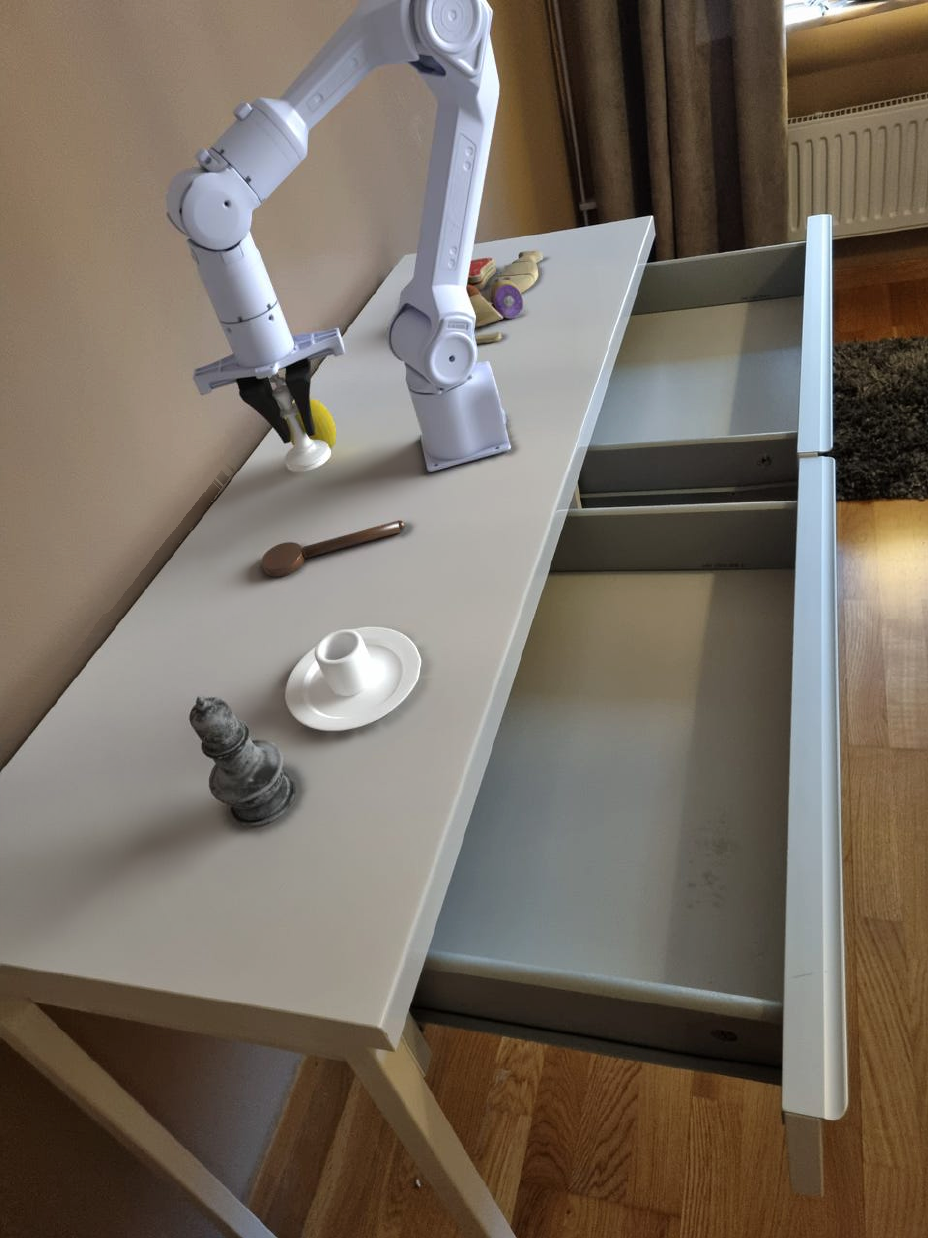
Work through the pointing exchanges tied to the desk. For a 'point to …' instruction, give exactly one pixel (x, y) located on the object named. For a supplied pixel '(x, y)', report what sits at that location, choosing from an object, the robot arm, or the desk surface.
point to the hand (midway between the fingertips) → (299, 434)
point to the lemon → (320, 423)
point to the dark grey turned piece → (241, 765)
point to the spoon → (320, 548)
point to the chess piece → (298, 433)
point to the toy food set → (500, 290)
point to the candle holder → (352, 678)
